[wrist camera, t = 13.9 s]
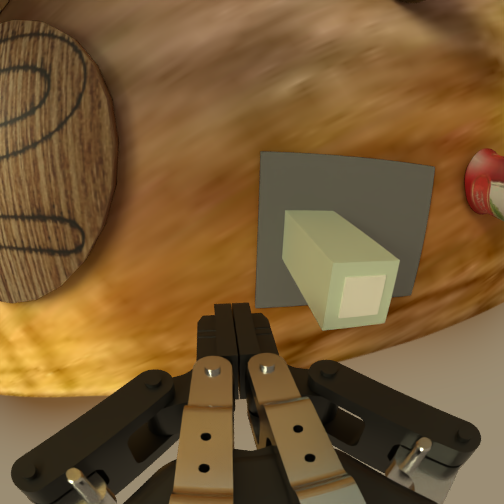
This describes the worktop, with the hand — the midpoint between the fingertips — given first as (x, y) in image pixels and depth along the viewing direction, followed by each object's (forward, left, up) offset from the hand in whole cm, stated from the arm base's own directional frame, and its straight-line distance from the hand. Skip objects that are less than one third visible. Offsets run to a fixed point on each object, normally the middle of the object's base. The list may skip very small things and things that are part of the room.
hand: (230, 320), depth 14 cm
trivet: (-20, +7, -13) cm, 25 cm away
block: (+7, 0, -12) cm, 14 cm away
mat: (+11, 0, -12) cm, 16 cm away
